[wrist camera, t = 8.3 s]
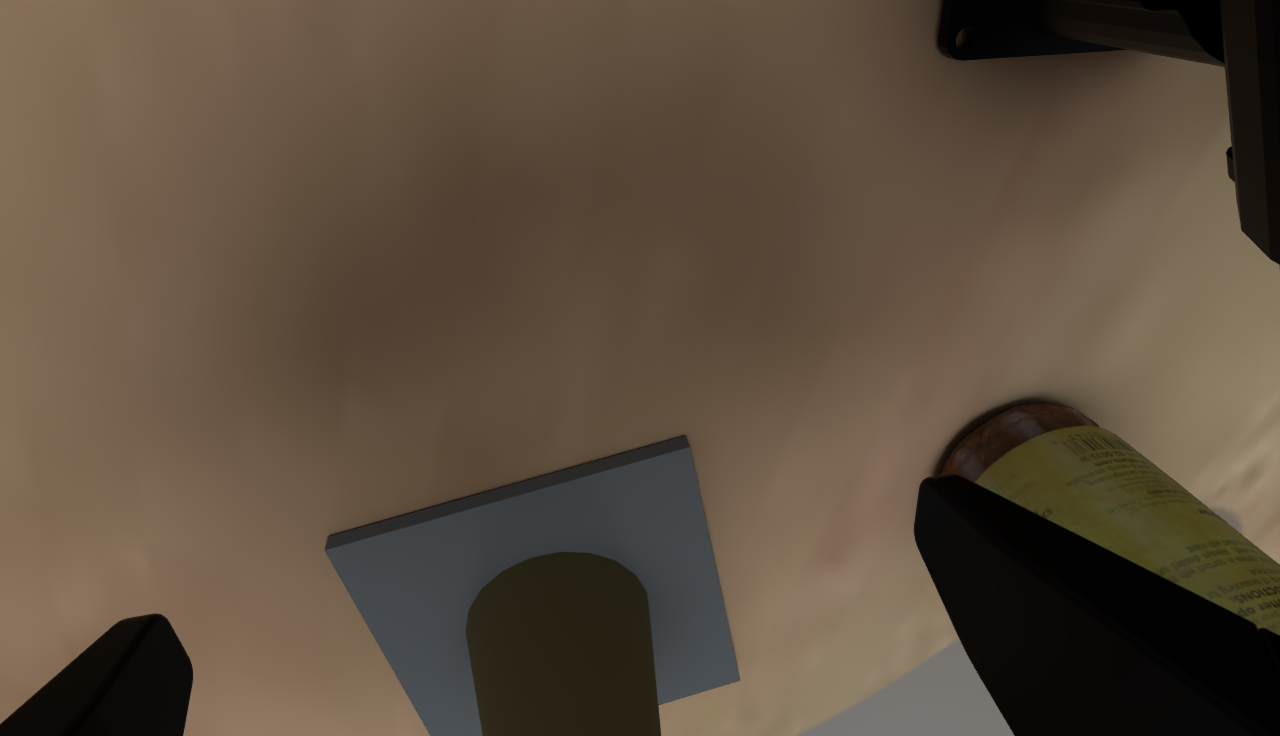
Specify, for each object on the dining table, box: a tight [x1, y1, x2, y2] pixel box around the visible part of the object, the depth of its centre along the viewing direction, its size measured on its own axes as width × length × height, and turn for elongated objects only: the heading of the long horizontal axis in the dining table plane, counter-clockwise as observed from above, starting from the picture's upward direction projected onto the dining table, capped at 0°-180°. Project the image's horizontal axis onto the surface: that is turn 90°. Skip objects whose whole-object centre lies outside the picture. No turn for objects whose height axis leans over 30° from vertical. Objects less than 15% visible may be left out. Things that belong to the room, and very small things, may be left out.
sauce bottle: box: [940, 403, 1280, 635], centre depth 18 cm, size 7×6×20 cm
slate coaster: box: [325, 436, 740, 736], centre depth 26 cm, size 11×11×1 cm
